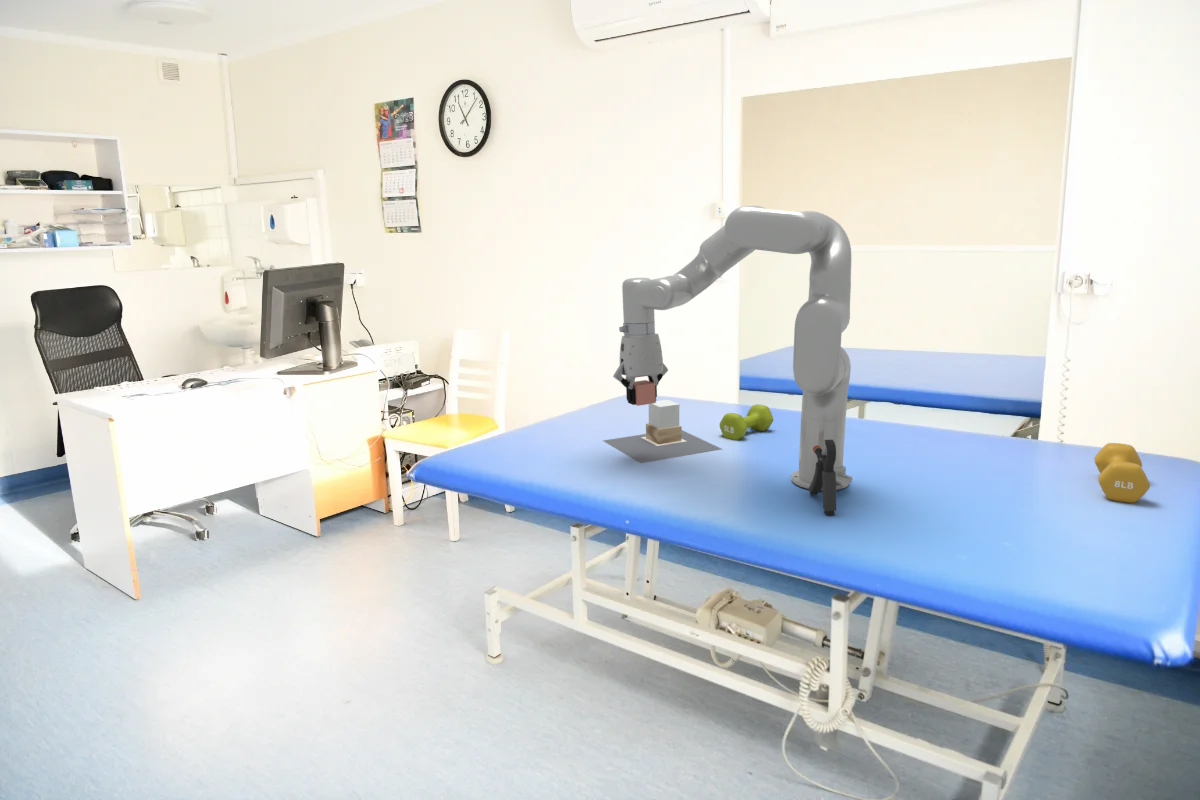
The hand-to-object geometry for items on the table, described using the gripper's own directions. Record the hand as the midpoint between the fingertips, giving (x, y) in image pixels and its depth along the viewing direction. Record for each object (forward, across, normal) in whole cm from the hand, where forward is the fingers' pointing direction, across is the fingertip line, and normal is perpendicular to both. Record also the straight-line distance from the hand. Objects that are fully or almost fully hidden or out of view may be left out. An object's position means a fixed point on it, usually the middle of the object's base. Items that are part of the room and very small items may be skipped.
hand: (642, 401), depth 193 cm
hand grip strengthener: (+16, +17, -46) cm, 52 cm away
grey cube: (+10, +11, +10) cm, 18 cm away
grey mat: (+14, +8, +6) cm, 18 cm away
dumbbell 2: (+18, +79, -68) cm, 106 cm away
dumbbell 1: (+15, +34, +5) cm, 38 cm away
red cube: (0, 0, 0) cm, 0 cm away
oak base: (+14, +11, +10) cm, 20 cm away
